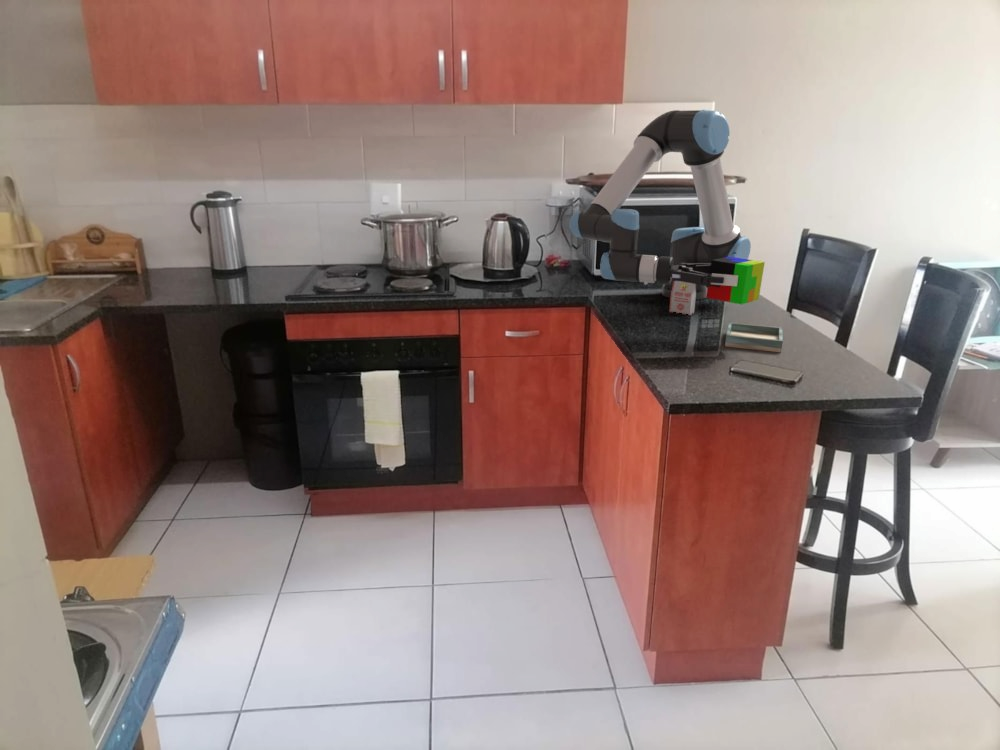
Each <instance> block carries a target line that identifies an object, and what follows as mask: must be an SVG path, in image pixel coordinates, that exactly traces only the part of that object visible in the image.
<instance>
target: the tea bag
mask: <svg viewBox="0 0 1000 750" xmlns="http://www.w3.org/2000/svg"><path fill="white" fill-rule="evenodd" d="M695 309H696V288H695V284H693V283H688V282H682V281H674V282H673V287H672V291H671V297H670V298H669V310H668V312H669V313H673V312H676V313H675V314H679V313H682V314H681V315H686V314H688V315H687V316H691V315H693V314H694V313H695ZM692 313H693V314H692Z"/></svg>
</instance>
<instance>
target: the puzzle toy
mask: <svg viewBox="0 0 1000 750" xmlns="http://www.w3.org/2000/svg"><path fill="white" fill-rule="evenodd" d="M764 268H765V261H761V260H760V261H759V260H753V259H749V258H748V259H741V258H735V257H725V258H719V259H714V260H711V267H710V274H711V276H712V273H714V274H727V275H738V283H737V286H726V285H714V284H711V283H710V287H707V296H706V298H705V299H712V300H718V301H722V302H727V303H732V304H738V305H745V304H748V303H752V302H754V301H758V300H759V299H760V293H761V287H762V281H763V275H764V274H763V273H764Z"/></svg>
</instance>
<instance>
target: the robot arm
mask: <svg viewBox="0 0 1000 750" xmlns="http://www.w3.org/2000/svg"><path fill="white" fill-rule="evenodd" d="M730 134H731V133H730V126H729V122H728V119H726V116H725V115H724V114H723V113H721V111H720V112H719V111H717V110H710V109H701V110H699V109H698V110H697V109H696V110H679V109H677V110H669V111H667V112H664V113H662V114H661V115H659V116H657V117H655V118H654V119H653V120H652V121H651V122H649V123H648V124H647V125H646V126H645V127H644V128H643V129H642V130H641V131H640V133H639V134H638V135H637V136H636V138H635V139H634V141H633V147H632V149H631V150H630V151H629V153H628V154H627V155H626V156H625V157H624V159H623V160H622V161H621V163H620V164H619V166H618V167H617V169H615V171H614V172H613V173H612V175H611V176H610V177H609V179H608V180H607V182H606V183H605V184H604V185H603V187H602V188H601V190H600V191H599V192H598V194H597V195H596V196H595V197H594V198H593V200H592V201H591V203H590V204H589V206H588V207H587V208H586V209H585V211H584V210H579V211H576V212H574V213H573V214H572V215H571V217H570V219H569V225H568V226H569V231H570V232H571V234H572V235H573V236H574V237H576V238H580V239H583V240H591V241H599V242H603V243H609V250H608V251H607V252H603V254H602V256H601V259H600V264H599V266H600V267H599V268H600V269H599V273H600V276H601V278H603V279H604V280H610V281H611V280H612V281H616V282H618V281H619V282H632V283H633V282H635V283H643V284H644V285H645V286H646V285H648V284H655V282H656V283H657V284H658V285H662V287H661V295H662V296H663V297H665V298H669V299H670V297H671V291H672V287H673V282H674V281H682V282H688V283H693V284H695V288H696V300H697V301H698V300H699V301H700V300H702V299H707V298H706V296H707V289H708V287H710V283H711V284H714V285H726V286H737V283H738V275H727V274H714V273H712V276H711V274H710V267H711V260H714V259H719V258H725V257H735V258H741V259H748V260H749V257H750V254H751V248H752V247H751V241H750V239H749V238H747V237H746V236H742V235H741V231H740V227H739V226H738V225H737V224H735V223H734V221H733V218H732V213H731V212H732V211H731V207H730V203H729V201H730V200H729V196H728V192H727V186H726V181H725V177H724V171H723V166H722V162H721V158H722V156H723V155H724V153H725V150H726V148H727V147H728V144H729V142H730V139H729V137H730ZM668 153H680V154H681V157H682V160H683V163H684V164H685V165H686V166H687V167H690V172H691V175H692V178H693V183H694V188H695V193H696V196H697V201H698V206H699V210H700V214H701V218H702V222H703V226H691V227H680V228H676V229H674V230H673V231H672V234H671V240H670V251H669V252H670V253H669V256H664V255H663V256H657V255H653V254H637V253H638V242H639V231H640V213H639V211H638V210H637V209H632V208H621V207H622V206H623V205H624V203H625V202H626V201H627V199H629V196H630V195H631V194H632V192H633V191H634V190H635V188H636V187H637V186H638V185H639V183H640V182H641V180H642V179H643V178H644V176H645V175H646V174H647V172H648V171H649V170H650V168H651V167H652V166H653V164H654V163H656V162H659V161H660V160H661V159H662V158H663V156H665V155H666V154H668ZM696 300H695V301H696Z"/></svg>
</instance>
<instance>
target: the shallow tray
mask: <svg viewBox="0 0 1000 750" xmlns="http://www.w3.org/2000/svg"><path fill="white" fill-rule="evenodd" d="M783 339H784V338H783V327H782V326H769V325H759V324H750V323H749V324H748V323H739V322H728V327H727V330H726V334H725V342H724V347H726V348H738V349H747V350H757V351H765V352H766V351H767V352H775V353H776V352H777V353H782V347H783V342H784V341H783Z"/></svg>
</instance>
